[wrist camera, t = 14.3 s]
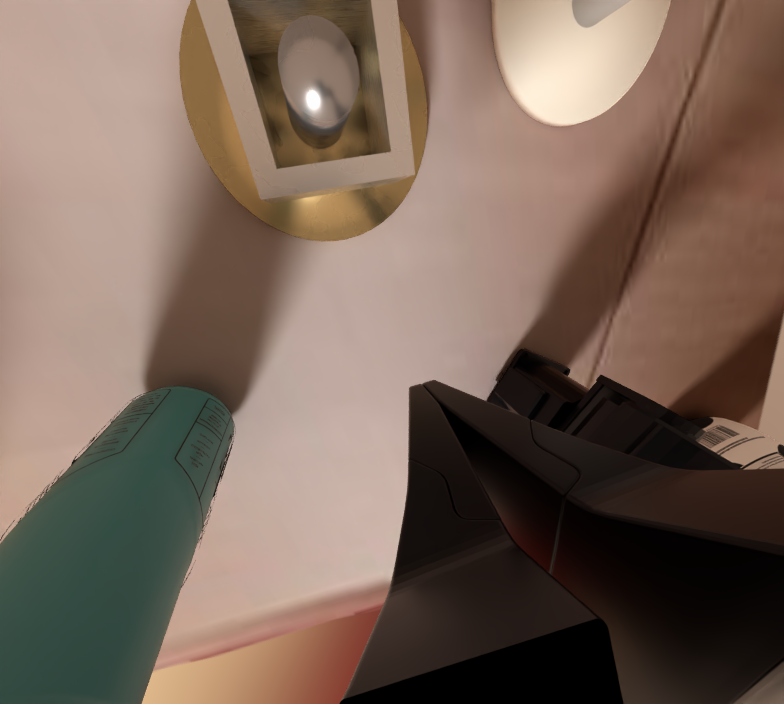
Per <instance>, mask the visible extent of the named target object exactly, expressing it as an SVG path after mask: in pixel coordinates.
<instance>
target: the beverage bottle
mask: <svg viewBox="0 0 784 704" xmlns="http://www.w3.org/2000/svg"><path fill="white" fill-rule="evenodd" d="M144 394H145V393H144ZM139 396H140V395H139ZM137 397H138V396H137ZM135 398H136V397H135ZM132 400H133V399H132ZM130 401H131V400H130ZM125 405H126V404H125ZM119 412H120V411H119ZM114 418H115V416H114ZM113 420H114V419H113ZM110 421H111V420H110ZM233 423H234V422H233V419H232V416H231V414H230V412H229V410H228V409H227V407H226V406H225V405H224V404H223V403H222V402H221V401H220V400H219V399H217V398H216V397H214V396H213V395H211V394H209V393H207V392H204V391H202V390H199V389H195V388H190V387H181V386H174V387H165V388H160V389H157V390H154V391H150V392H149V393H148V392H147V394H145V395H143V396H141V397H139V398H137V399H136V400H134V401H132V402H131V403H130V404H129V405H128V406H127V407H126V408H125V409H124V410H123V411H122V412H121V414H120V415H119V416H118V417H116V419H115V420H114V421H112V422H111V424H110V425H109V426H108V427H107V428H106V429H105V430H104V431H103V433H102V434H101V435H100V436H99V437H98V438H97V439H96V440H95V441H94V442H93V443H92V444H91V445H90V446H89V447H88V448H87V449H86V451H85V452H84V453H83V454H82V455H81V456H80V457H78V458H77V459H76V460H75V459H74V460H73V462H72V464H71V466H70V467H69V469H68V471H66V472H65V473H64V474H63V475H62V476H61V477H60V478H58V480H57V481H56V482H55V483H54V482H53V483H54V484H53V483H52V484H53V485H52V486H51V487H50V490H49V491H48V492H47V490H48V487H49V486H48V487H47V490H46V492H45V493H46V494H45V493H44V492H43V493H44V496H43V497H42V498H41V497H40V498H41V499H40V498H39V501H38V502H37V503H36V505H35V506H34V507H33V508H32V509H31V510H30V511H29V512H27V511H28V510H29V509H28V510H27V511H26V512H27V514H25V516H24V517H23V518H22V520H20V521H19V522H18V524H17V525H16V526H15V527H14V528H13V529H12V531H11V532H10V533H9V534H8V535H7V536H6V537H5V539H4V540H3V541H2V543H1V544H0V704H142V701H143V698H144V695H145V692H146V689H147V686H148V683H149V680H150V677H151V674H152V671H153V669H154V666H155V663H156V660H157V657H158V654H159V651H160V648H161V645H162V642H163V639H164V636H165V634H166V631H167V628H168V625H169V622H170V619H171V616H172V613H173V610H174V607H175V604H176V601H177V599H178V596H179V593H180V590H181V588H182V586H183V585H184V584H183V581H184V578H185V575H186V573H187V571H188V568H189V566H190V563H191V561H192V558H193V555H194V552H195V549H196V546H197V543H199V541H200V540H199V537H200V534H201V531H202V532H203V530H204V529H203V527H204V526H205V525H204V522H205V520H206V519H207V518H206V516H207V513H208V510H209V507H210V504H211V501H212V498H213V497H214V496H215V492H216V491H217V490H216V489H217V486H218V483H219V480H220V477H221V479H222V476H223V473H224V470H225V467H226V464H227V460H228V457H229V455H230V451H231V449H232V445H231V448H230V449H229V446H230V443H231V440H232V437H233V436H234V435H233V433H234V427H235V425H233ZM104 427H105V426H104ZM104 427H103V428H104ZM103 428H102V429H103ZM102 429H101V430H102ZM101 430H100V431H101ZM100 431H99V432H100ZM99 432H98V433H99ZM98 433H97V434H98ZM97 434H96V435H97ZM97 436H98V435H97ZM94 439H95V437H94V438H93V440H94ZM93 440H92V441H93ZM92 441H91V442H92ZM233 442H234V441H233ZM83 449H84V448H83ZM228 449H229V450H230V451H229V453H228ZM79 453H80V452H79ZM79 453H78V454H79ZM227 453H228V454H227ZM78 454H77V455H78ZM227 455H228V457H227ZM226 457H227V459H226V461H225V458H226ZM75 458H76V457H75ZM224 461H225V462H226V463H225V462H224ZM224 465H225V466H224ZM223 468H224V469H223ZM222 471H223V473H222ZM61 472H62V471H61ZM221 474H222V476H221ZM57 476H58V475H57ZM57 476H56V477H57ZM59 476H60V475H59ZM59 476H58V477H59ZM55 479H56V478H55ZM52 481H53V480H52ZM44 490H45V489H44ZM44 490H43V491H44ZM43 493H42V494H43ZM216 494H217V493H216ZM39 496H40V495H39ZM39 496H38V497H39ZM41 496H42V495H41ZM38 497H37V498H38ZM36 500H37V499H36ZM36 500H35V501H36ZM214 500H215V497H214ZM34 504H35V502H34ZM29 505H30V504H29ZM29 505H28V506H29ZM28 506H27V507H28ZM210 509H211V507H210ZM209 511H211V510H209ZM21 513H22V512H21ZM210 513H211V512H210ZM207 517H208V516H207ZM209 518H210V517H209ZM20 519H21V518H20ZM13 522H14V521H13ZM13 522H12V523H13ZM207 522H208V520H207ZM207 522H206V523H207ZM207 524H208V523H207ZM207 524H206V525H207ZM203 525H204V526H203ZM10 526H11V525H10ZM10 526H9V527H10ZM7 530H8V529H7ZM7 530H6V531H7ZM4 534H5V533H4ZM4 534H3V535H4ZM203 534H204V533H203ZM202 536H203V535H202ZM2 537H3V536H2ZM2 537H1V539H2ZM1 539H0V540H1ZM200 539H202V537H201V538H200ZM198 540H199V541H198ZM200 544H201V543H200ZM199 549H200V548H199ZM195 561H196V560H195ZM191 570H192V569H191ZM190 572H191V571H190ZM189 574H190V573H189ZM188 576H189V575H188ZM186 579H187V578H186ZM185 581H186V580H185ZM184 583H185V582H184ZM182 584H183V585H182Z"/></svg>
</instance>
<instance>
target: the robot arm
mask: <svg viewBox="0 0 784 704" xmlns="http://www.w3.org/2000/svg"><path fill="white" fill-rule="evenodd" d="M523 355H524V356H523ZM569 373H570V369H569V368H568V367H566V366H564V365H561V364H559V363H557V362H554V361H552V360H550V359H547V358H545V357H543V356H540V355H538V354H536V353H533V352H531V351H529V350H526V349H521V350H520V351H519V352H518V354H517V355H516V357H515V358H514V360H513V362H512V363H511V365H510V366H509V368H508V370H507V371H506V373H505V374H504V376H503V377H502V379H501V381H500V382H499V384H498V385H497V387H496V389H495V390H494V392H493V393H492V395H491V397H490V398H489V400H488V401H484V400H482V399H480V398H477V397H475V396H472V395H470V394H467V393H465V392H462V391H460V390H458V389H455V388H453V387H450V386H448V385H445V384H443V383H441V382H438V381H436V380H432V381H429V382H425V383H423V384H418V385H415V386H411V387H410V388H409V453H408V460H409V462H408V486H407V495H406V503H405V510H404V516H403V522H402V528H401V534H400V539H399V545H398V551H397V557H396V562H395V567H394V572H393V576H392V581H391V584H390V588H389V591H388V595H387V598H386V600H385V602H384V605H383V607H382V609H381V612H380V614H379V616H378V619H377V621H376V623H375V626H374V628H373V630H372V633H371V635H370V637H369V640H368V642H367V644H366V647H365V649H364V651H363V654H362V656H361V658H360V661H359V663H358V665H357V668H356V670H355V672H354V674H353V677H352V679H351V681H350V684H349V686H348V688H347V691H346V692H345V694H344V696H343V698H342V700H341V702H340V704H784V468H778V469H744V470H742V469H741V468H740V467H738V466H737V465H736V464H734V463H732V462H731V461H729V460H727V459H726V458H724V457H722V456H721V455H719V454H717V453H715V452H714V451H712V450H710V449H709V448H707V447H705V446H704V445H702V444H700V443H699V441H700V440H701V439H702V438H703V437H704V436H705V435H706V434H707V432H705V431H704V430H703V429H701V428H699V427H698V426H696V425H695V424H693V423H691V422H690V421H688V420H686V419H685V418H683V417H681V416H680V415H678V414H676V413H674V412H672V411H671V410H669V409H667V408H665V407H664V406H662V405H660V404H658V403H656V402H654V401H652V400H651V399H649V398H647V397H645V396H643V395H641V394H639V393H637V392H635V391H633V390H631V389H629V388H627V387H625V386H623V385H621V384H619V383H617V382H615V381H613V380H611V379H609V378H607V377H605V376H603V375H600V376H599V377H598V378H597V380H596V381H597V382H596V383H595V384H594V385H593V386H592V388H591V389H590V390H589V389H587V388H586V387H584V386H582V385H581V384H579V383H578V382H576V381H574V380H573V379H571V378H570V377H568V375H569Z"/></svg>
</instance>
